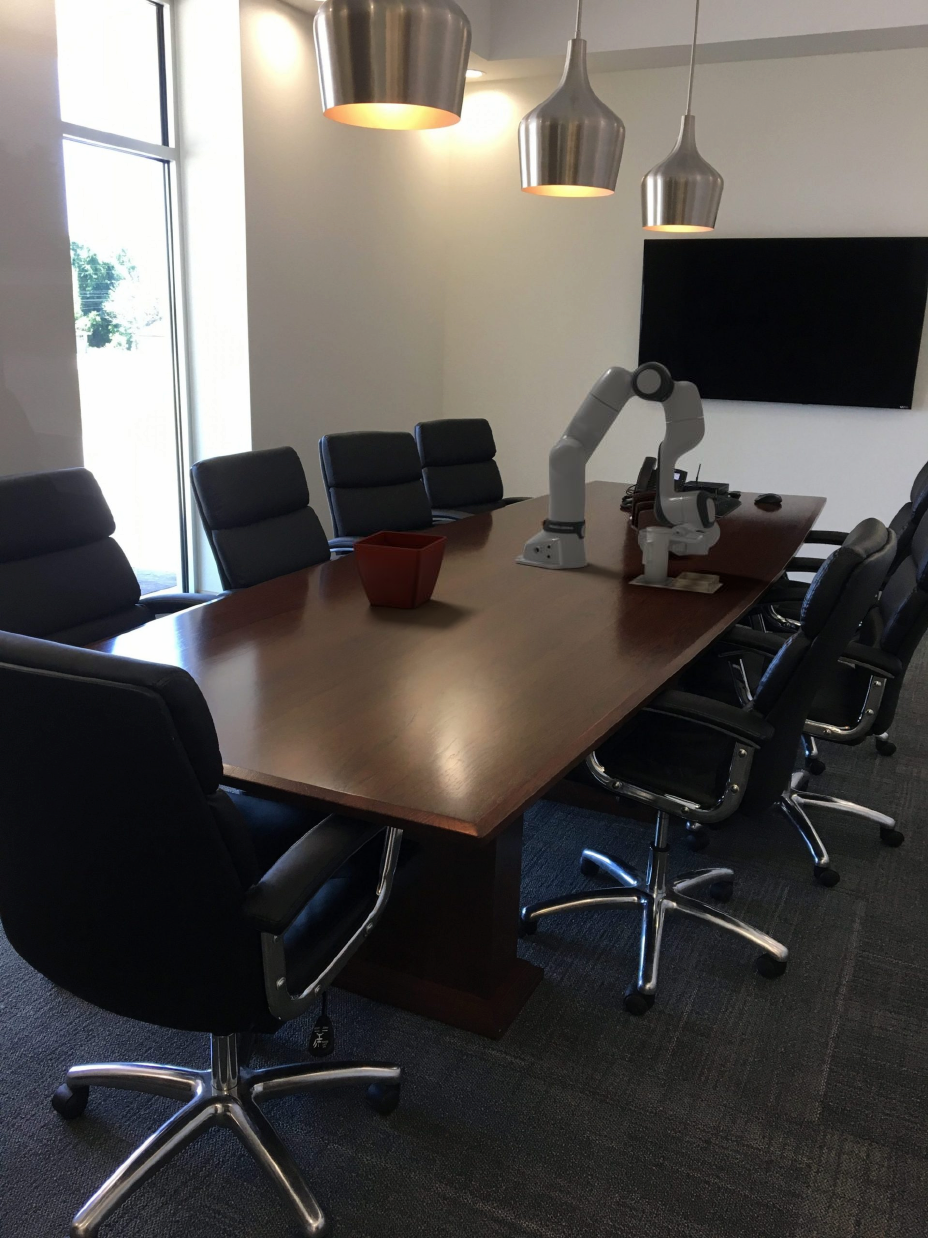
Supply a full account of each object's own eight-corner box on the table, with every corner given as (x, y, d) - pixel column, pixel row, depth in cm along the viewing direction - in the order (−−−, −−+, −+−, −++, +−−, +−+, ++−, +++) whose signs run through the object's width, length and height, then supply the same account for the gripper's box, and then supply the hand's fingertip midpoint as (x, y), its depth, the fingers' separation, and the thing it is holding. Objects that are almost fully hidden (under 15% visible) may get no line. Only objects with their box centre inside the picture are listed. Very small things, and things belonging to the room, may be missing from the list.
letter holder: (630, 527, 381) (632, 490, 377) (681, 527, 383) (683, 490, 379) (637, 532, 371) (640, 494, 368) (689, 532, 373) (692, 494, 370)
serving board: (627, 587, 286) (628, 574, 285) (641, 578, 297) (641, 566, 296) (712, 597, 276) (713, 584, 275) (722, 587, 287) (723, 575, 286)
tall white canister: (651, 576, 293) (655, 525, 289) (671, 580, 289) (675, 528, 285) (633, 581, 286) (636, 529, 282) (653, 585, 282) (657, 532, 278)
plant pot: (419, 614, 254) (420, 549, 249) (352, 606, 260) (351, 542, 256) (447, 597, 271) (447, 536, 267) (382, 590, 277) (382, 530, 273)
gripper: (653, 524, 301) (627, 530, 292) (714, 533, 288) (688, 539, 278) (652, 545, 303) (626, 551, 293) (712, 555, 290) (687, 562, 280)
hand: (657, 545), depth 286 cm, fingers open, 8 cm apart
